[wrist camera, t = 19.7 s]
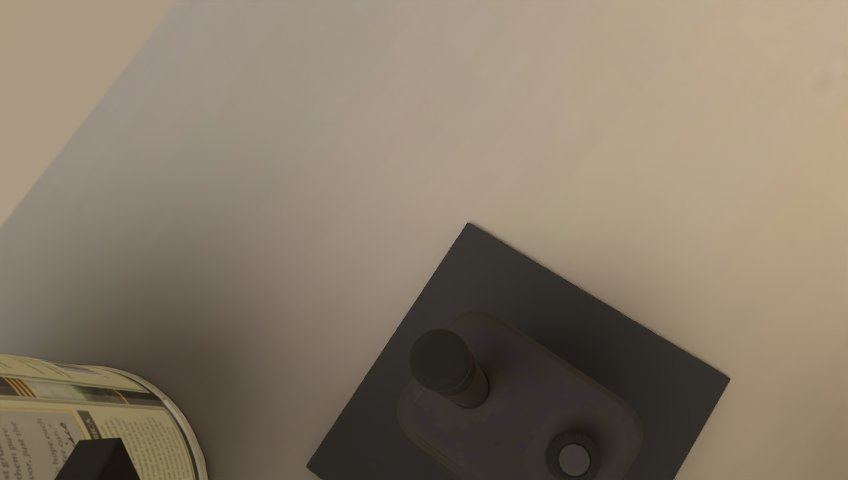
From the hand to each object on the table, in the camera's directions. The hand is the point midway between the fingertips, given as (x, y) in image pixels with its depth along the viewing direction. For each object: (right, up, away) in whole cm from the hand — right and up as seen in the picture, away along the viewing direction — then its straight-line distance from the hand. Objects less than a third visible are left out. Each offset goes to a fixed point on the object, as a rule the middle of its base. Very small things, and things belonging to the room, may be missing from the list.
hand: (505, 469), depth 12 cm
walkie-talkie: (+2, -2, +11) cm, 11 cm away
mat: (+2, -2, +11) cm, 12 cm away
